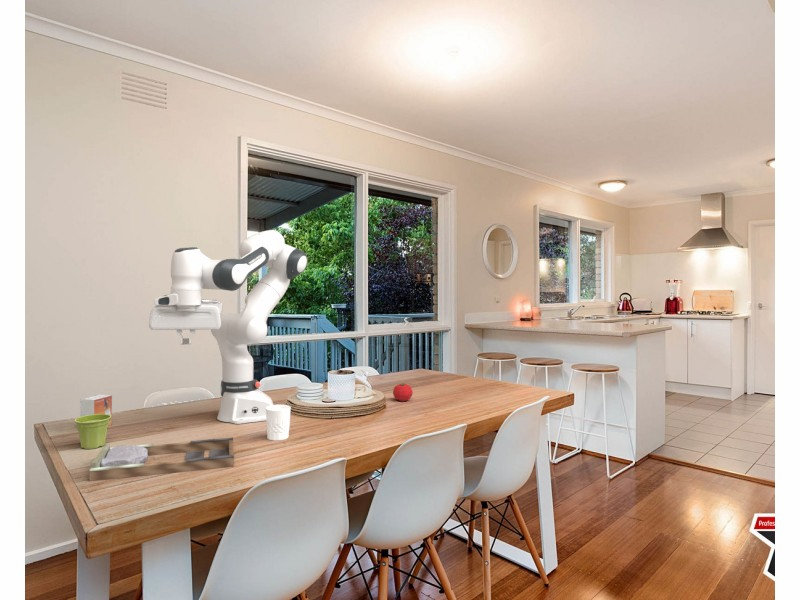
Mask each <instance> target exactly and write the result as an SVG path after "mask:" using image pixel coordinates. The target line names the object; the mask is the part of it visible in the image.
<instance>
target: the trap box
mask: <svg viewBox="0 0 800 600" xmlns="http://www.w3.org/2000/svg"><path fill="white" fill-rule="evenodd" d="M134 446H141V447H144V448H146V449H147V450H148V456H157V455H158V456H159V455H168V454H177V453H185V457H184V459H183V460H179V461H178V460H176V461H167V462H156V463H145V462H143V463H140V464H130V465H119V466H108V467H101V460H102V459H104V458H106V456H107V454H108V452H109V451H110V449H112V448H114V447H115V446H113V447H111V444H105V445H104V446H102V448H101V450H99V452H98V454H97V455H96V456H95V457H94V459H93V461H91V463H90V468H89V482H93V481H104V480H114V479H123V478H134V477H143V476H144V477H145V476H153V475H163V474H172V473H183V472H193V471H194V472H195V471H203V470H215V469H222V468H232V467H233V468H234V467H235V464H234V463H235V454H234V453H235V451H234V437H223V438H209V439H208V438H207V439H198V440H197V439H196V440H190V441H187V442H186V441H185V442H176V443H164V444H163V443H162V444H153V443H150V444H137V445H134ZM205 451H209V457H208V456H206V457H205V453H206V452H205Z"/></svg>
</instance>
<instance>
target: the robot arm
mask: <svg viewBox="0 0 800 600" xmlns="http://www.w3.org/2000/svg"><path fill="white" fill-rule="evenodd" d="M285 241H286V240H285V239H284V235H282V234H281V233H280V232H279V231H277V230H273V229H269V230H264V231H263V230H262V231H259V232H257V233H254V234H252V235H250V236H248V237H246V238H245V239H243V240H242V242H240V244H239V248H238V252H239V255H240V258H239V259H238V258H225V259H211V258H210V257H207V256H206V255H205V254H204V253H203V252H202V251H201V249H200V248H198V247H193V246H192V247H180V248H177V249H175V250H174V251H173V253H172V256H171V260H170V261H171V263H170V279H171V282H172V283H171V286H170V294H165V295H162V296H159V297H156V298H155V299H154V301H153V302H154V303H153V304H154V305H155V306H154V307H152V308H151V310H150V314H149V322H148V327H149V328H150V330H151V331H168V330H169V331H176V335H177V336H178V338H179V339H180V345H191V344H192V338H193V337H194V335H195V334H196V331H197V330H201V331H202V330H204V331H205V330H208V331H209V330H210V333H211V334H212V336H213V337H214V339H215V340H216V342H217V345H218V348H219V351H220V356H221V364H222V365H221V367H222V370H221V371H222V373H221V374H222V375H221V376H222V379H221V381H220V382H221V383H220V396H221V397H220V398H221V401H220V405H219V409H218V410H219V411H218V414H217V420H218V421H221V422H225V423H232V424H235V425H238V424H239V425H240V424H246V423H247V424H248V423H254V422H255V423H257V422H266V407H268V406H271V405H274V402H273V400H272V397H271V396H269V395H268V394H266V393H265V392H263V391H262V390H260V387H261V382H259V381H258V380H257V379H254V358H253V356H252V355H251V354H250V351H248V347H247V345H249V346H250V345H254V344H260V343H261V342H263V341H264V340H265V339H266V337H267V334H268V325H267V324H268V323H267V321H268V319H269V316H270V314H271V312H272V311H273V310H274V308H275V307H276V306H277V305H278V304H279V302H280V300H281V299H282V298H283V296H284V295H285V294H286V291H287V290H288V288H289V286H290V284H291V283H290V282H291V280H293V279H296V278H297V277H298V276H300V275H301V274H303V272H304V271H305V270H306V268H307V266H308V256H307V253H306V252H304V251H303V250H302V249H299V248H296V247H294V246H292V245H290V244H286V242H285ZM263 267H267V268H269V270H268V272H267V273H265V274H264V276H262V277H261V278H260V280H258V282H257V283H255V285H254V286H253V287H252V289H251V290H250V291H249V292H248V294H247V295H246V296H245V297H244V303H245V306H244V308H243V309H242V311H241V312H239V313H224V314H223V313H222V312H223V304H222V302H221V301H218V300H217V299H203V290H223V291H229V292H230V291H231V292H234V291H238V290H239V289H240V288H241V287H242V286H243V285H244V284H245V282H246V281H247V279H249V277H250V276H252V275H253V274H254V273H255V272H257V271H259V270H260V269H261V268H263ZM184 330H185V331H189V334H190V336H189V338H188V337H187V338H186V337H185V338H184V337H183V335H182V334H183V331H184Z"/></svg>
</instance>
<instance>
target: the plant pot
mask: <svg viewBox="0 0 800 600" xmlns="http://www.w3.org/2000/svg"><path fill="white" fill-rule="evenodd" d="M110 418H111V415H108V414H94V415H87V416H82V417H80V416H79V417H77V418H75V419H74V423H76V424H75V425H76V427H77V430H78V434H79V435H78V436H79V441H80V442H79V443H80V448H81V449H85V450H92V449H97V448H99V447H104V446H105V445H106V440H107V439H106V438H107V435H108V434H107V433H108V427H109V426H108V423H109V419H110Z"/></svg>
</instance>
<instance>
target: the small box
mask: <svg viewBox="0 0 800 600" xmlns="http://www.w3.org/2000/svg"><path fill="white" fill-rule="evenodd" d="M79 402H80V403H79V417H82V416H87V415H94V414H108V415H111V418H110V419H109V423H108V427H109V426H112V422H113V419H112V417H113V416H112V415H113V395H112V394H111V395H110V394H96V395H92V396H88V397H85V398H81V399H79Z"/></svg>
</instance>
